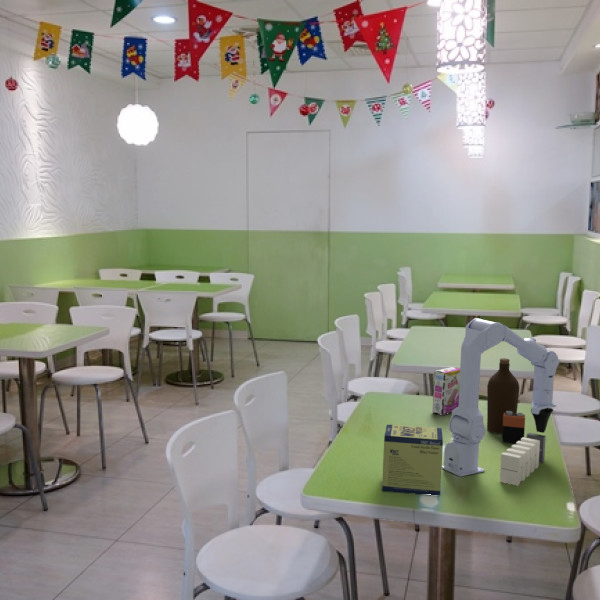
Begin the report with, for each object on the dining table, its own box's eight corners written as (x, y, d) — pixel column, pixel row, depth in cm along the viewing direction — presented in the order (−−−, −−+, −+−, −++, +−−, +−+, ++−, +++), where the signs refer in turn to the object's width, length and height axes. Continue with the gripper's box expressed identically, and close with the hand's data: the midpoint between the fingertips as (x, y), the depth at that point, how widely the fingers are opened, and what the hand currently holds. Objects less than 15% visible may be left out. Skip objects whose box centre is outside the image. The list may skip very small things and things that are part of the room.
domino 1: (517, 486, 188) (519, 457, 187) (499, 481, 191) (501, 454, 190) (519, 483, 190) (521, 455, 189) (502, 479, 193) (503, 452, 192)
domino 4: (531, 472, 199) (533, 446, 198) (514, 469, 201) (516, 442, 200) (534, 470, 200) (535, 444, 199) (516, 467, 203) (518, 440, 202)
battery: (502, 438, 229) (503, 409, 228) (523, 441, 227) (525, 411, 226) (501, 442, 225) (503, 412, 224) (523, 445, 223) (525, 415, 222)
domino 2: (522, 481, 192) (524, 453, 191) (504, 477, 195) (506, 450, 194) (524, 479, 193) (526, 451, 192) (507, 475, 196) (508, 448, 195)
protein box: (441, 496, 180) (443, 439, 179) (381, 491, 183) (383, 435, 181) (440, 482, 191) (442, 427, 189) (383, 477, 193) (385, 423, 191)
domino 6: (527, 458, 211) (529, 432, 210) (544, 461, 208) (545, 435, 207) (525, 459, 209) (526, 434, 208) (542, 463, 206) (543, 437, 206)
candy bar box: (443, 416, 255) (444, 372, 253) (431, 413, 258) (433, 370, 256) (460, 410, 262) (462, 368, 260) (449, 408, 266) (451, 366, 264)
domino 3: (527, 477, 195) (528, 449, 194) (509, 473, 198) (511, 446, 197) (529, 475, 197) (531, 447, 196) (512, 471, 200) (513, 444, 199)
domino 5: (536, 468, 202) (537, 442, 201) (519, 464, 205) (520, 438, 204) (538, 466, 204) (540, 440, 203) (521, 463, 206) (523, 437, 205)
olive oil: (505, 436, 231) (509, 363, 228) (478, 429, 239) (482, 358, 236) (523, 431, 238) (527, 360, 235) (497, 423, 246) (500, 354, 243)
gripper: (549, 395, 202) (547, 440, 203) (563, 385, 213) (560, 428, 215) (525, 391, 206) (523, 435, 207) (540, 382, 217) (537, 424, 219)
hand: (540, 431), depth 211 cm, fingers closed
